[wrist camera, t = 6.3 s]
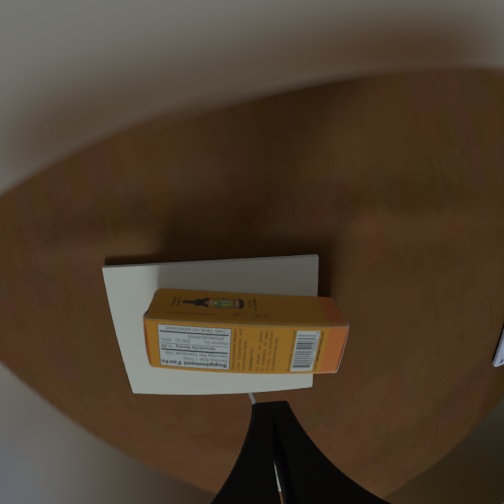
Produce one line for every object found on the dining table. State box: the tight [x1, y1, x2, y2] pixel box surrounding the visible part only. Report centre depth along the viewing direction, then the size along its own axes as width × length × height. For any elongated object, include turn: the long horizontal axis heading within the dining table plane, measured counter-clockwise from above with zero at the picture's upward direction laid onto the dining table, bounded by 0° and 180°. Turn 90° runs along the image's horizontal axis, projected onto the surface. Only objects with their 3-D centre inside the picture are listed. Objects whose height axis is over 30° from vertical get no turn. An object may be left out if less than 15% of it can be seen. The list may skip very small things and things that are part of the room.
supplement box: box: [143, 288, 349, 374], centre depth 16 cm, size 3×3×10 cm
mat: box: [102, 254, 319, 394], centre depth 18 cm, size 12×9×1 cm
